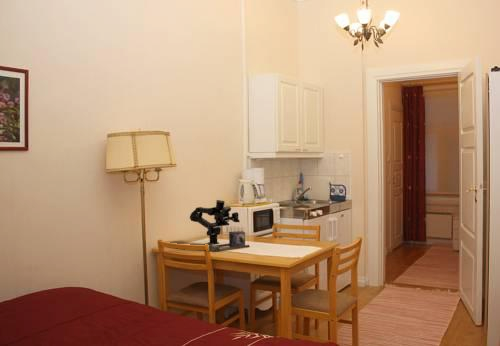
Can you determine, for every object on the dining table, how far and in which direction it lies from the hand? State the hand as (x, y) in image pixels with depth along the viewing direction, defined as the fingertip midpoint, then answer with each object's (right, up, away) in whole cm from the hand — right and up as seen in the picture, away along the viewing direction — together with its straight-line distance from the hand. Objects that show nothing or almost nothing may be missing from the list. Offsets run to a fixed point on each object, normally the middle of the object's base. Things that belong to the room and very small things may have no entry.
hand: (234, 223), depth 330 cm
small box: (+2, -17, +4) cm, 18 cm away
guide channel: (-5, -17, 0) cm, 18 cm away
